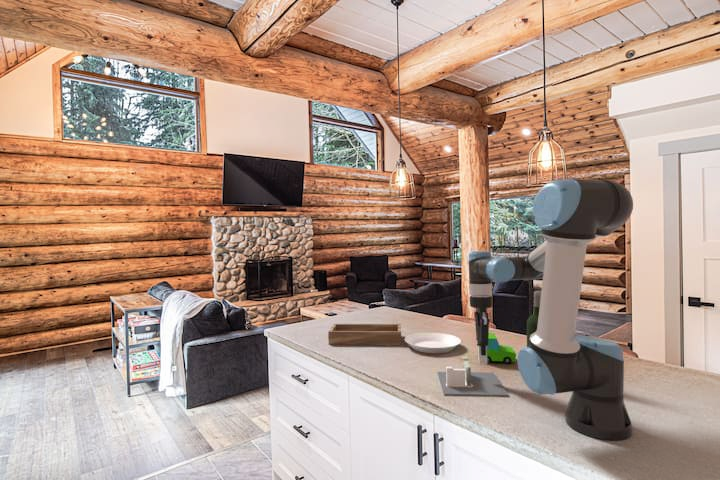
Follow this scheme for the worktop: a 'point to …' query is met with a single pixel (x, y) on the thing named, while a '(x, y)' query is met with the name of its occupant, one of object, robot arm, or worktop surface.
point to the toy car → (499, 351)
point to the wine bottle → (533, 316)
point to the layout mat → (475, 385)
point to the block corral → (365, 334)
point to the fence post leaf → (457, 376)
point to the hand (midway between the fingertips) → (482, 363)
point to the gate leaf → (465, 366)
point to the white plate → (432, 342)
